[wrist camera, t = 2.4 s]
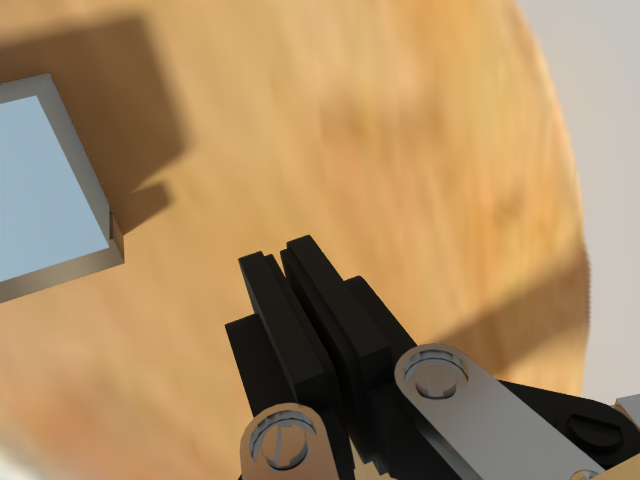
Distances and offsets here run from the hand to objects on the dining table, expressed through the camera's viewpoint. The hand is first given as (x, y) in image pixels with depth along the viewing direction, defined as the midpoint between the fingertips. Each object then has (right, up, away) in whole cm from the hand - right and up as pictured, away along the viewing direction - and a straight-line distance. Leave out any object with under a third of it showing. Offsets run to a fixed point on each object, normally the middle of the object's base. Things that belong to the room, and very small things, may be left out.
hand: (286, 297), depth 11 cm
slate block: (-14, +5, +12) cm, 19 cm away
